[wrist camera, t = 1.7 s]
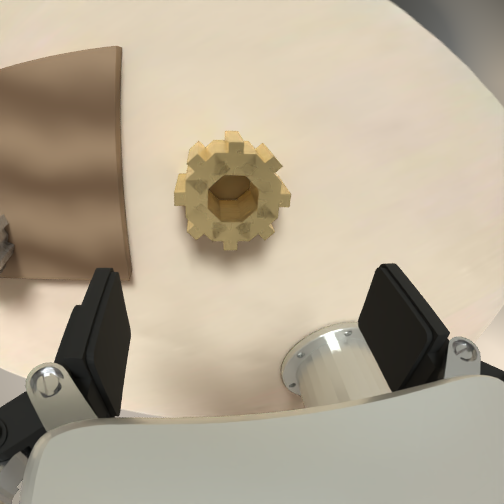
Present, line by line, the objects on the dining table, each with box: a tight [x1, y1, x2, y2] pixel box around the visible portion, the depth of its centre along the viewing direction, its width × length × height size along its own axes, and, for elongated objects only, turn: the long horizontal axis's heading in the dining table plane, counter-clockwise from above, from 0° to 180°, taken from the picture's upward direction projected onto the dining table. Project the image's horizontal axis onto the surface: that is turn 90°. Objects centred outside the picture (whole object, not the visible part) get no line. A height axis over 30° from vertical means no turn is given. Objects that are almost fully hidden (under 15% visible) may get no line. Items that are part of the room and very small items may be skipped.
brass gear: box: [174, 131, 291, 250], centre depth 22 cm, size 7×7×4 cm
